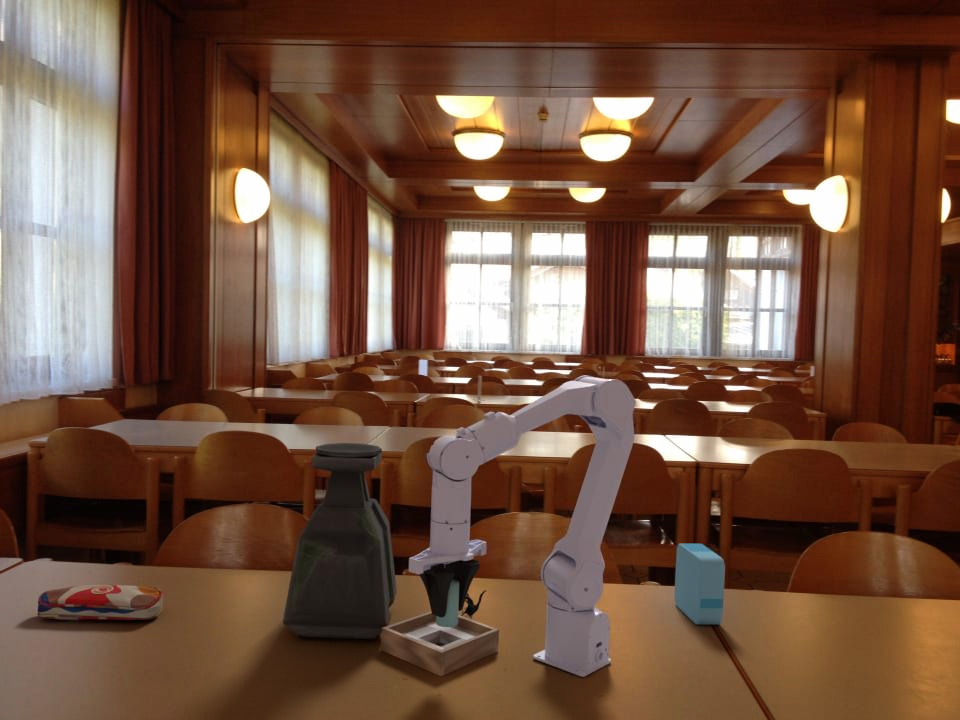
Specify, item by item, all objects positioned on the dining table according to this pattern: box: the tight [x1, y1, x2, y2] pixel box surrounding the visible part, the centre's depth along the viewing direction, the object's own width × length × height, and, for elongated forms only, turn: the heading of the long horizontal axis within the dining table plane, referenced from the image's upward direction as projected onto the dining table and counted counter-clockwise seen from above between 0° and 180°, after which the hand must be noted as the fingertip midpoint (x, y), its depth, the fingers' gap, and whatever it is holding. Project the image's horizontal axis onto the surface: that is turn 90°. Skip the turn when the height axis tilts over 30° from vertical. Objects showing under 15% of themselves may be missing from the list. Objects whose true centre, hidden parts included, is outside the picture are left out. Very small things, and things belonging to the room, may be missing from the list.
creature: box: [460, 590, 487, 618], centre depth 140 cm, size 8×5×8 cm
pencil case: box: [36, 584, 164, 621], centre depth 133 cm, size 11×20×5 cm, turn 79°
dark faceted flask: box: [282, 442, 398, 640], centre depth 133 cm, size 18×16×30 cm
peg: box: [436, 579, 459, 627], centre depth 115 cm, size 3×3×6 cm
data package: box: [674, 543, 726, 626], centre depth 145 cm, size 12×4×12 cm, turn 6°
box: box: [380, 610, 500, 677], centre depth 124 cm, size 13×13×4 cm
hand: (447, 612), depth 115 cm, fingers closed on peg, 3 cm apart
